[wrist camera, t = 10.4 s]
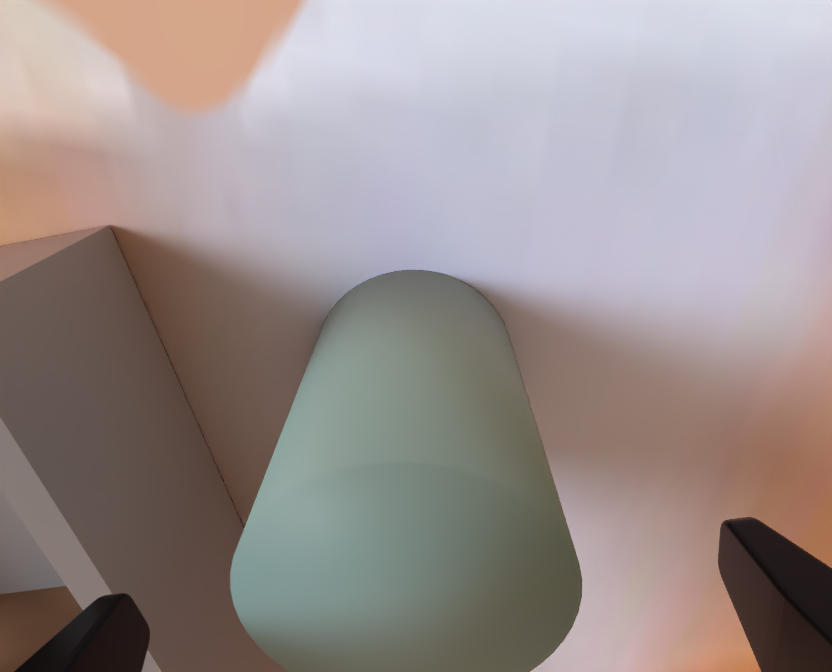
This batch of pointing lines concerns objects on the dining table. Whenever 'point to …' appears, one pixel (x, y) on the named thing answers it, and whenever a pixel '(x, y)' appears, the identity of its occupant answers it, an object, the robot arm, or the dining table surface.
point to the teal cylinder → (408, 498)
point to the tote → (110, 458)
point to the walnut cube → (32, 622)
